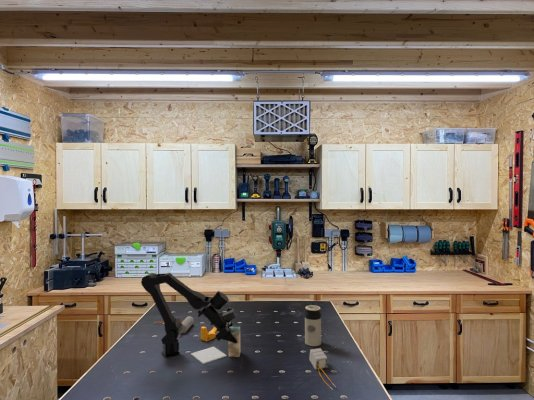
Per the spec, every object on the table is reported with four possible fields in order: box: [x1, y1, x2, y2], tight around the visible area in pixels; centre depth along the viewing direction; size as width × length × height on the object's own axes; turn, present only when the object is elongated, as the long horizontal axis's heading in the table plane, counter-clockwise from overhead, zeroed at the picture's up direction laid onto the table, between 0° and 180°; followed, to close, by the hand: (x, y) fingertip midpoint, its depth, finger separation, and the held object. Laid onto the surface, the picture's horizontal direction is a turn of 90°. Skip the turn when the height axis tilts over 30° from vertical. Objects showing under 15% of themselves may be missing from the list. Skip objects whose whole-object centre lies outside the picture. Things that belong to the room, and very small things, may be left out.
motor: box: [153, 315, 194, 334], centre depth 193 cm, size 23×22×5 cm
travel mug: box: [304, 304, 322, 347], centre depth 172 cm, size 8×8×18 cm
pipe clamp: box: [200, 325, 217, 343], centre depth 181 cm, size 12×4×6 cm, turn 142°
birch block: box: [227, 326, 242, 358], centre depth 160 cm, size 5×5×12 cm
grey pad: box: [190, 346, 227, 365], centre depth 159 cm, size 12×12×1 cm
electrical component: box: [309, 347, 336, 391], centre depth 142 cm, size 24×6×5 cm, turn 16°
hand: (237, 340), depth 160 cm, fingers closed on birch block, 5 cm apart
